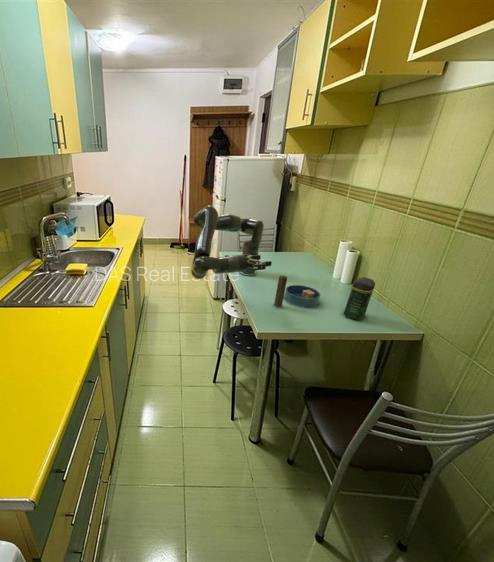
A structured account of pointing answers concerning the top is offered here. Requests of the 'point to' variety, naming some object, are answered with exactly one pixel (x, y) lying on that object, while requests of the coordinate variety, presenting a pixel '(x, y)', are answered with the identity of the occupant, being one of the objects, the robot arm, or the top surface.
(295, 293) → the bowl
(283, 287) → the stick
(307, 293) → the block
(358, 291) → the coffee jar
